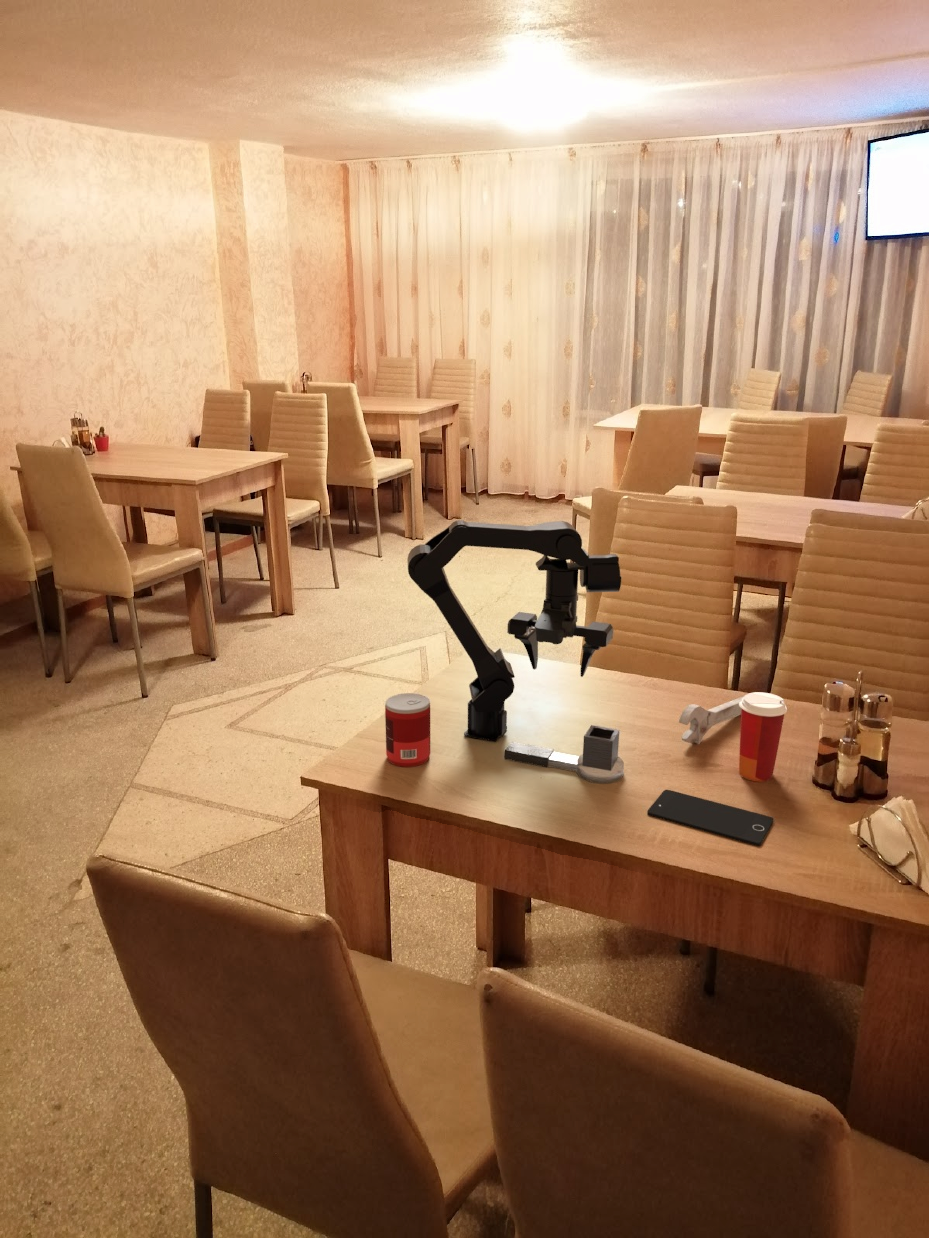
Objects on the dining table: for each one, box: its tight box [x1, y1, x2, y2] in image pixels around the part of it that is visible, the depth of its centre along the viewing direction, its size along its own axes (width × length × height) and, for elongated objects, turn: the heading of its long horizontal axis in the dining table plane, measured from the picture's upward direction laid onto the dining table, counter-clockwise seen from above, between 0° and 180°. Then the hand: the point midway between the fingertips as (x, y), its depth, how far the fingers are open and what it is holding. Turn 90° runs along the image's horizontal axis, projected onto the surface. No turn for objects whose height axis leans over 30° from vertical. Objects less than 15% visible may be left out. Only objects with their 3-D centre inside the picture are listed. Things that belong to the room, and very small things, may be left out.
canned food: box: [384, 692, 431, 768], centre depth 167 cm, size 8×8×11 cm
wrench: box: [678, 695, 745, 745], centre depth 181 cm, size 8×2×30 cm
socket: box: [582, 724, 620, 771], centre depth 162 cm, size 5×5×6 cm
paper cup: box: [738, 691, 788, 782], centre depth 162 cm, size 8×8×14 cm
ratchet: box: [503, 741, 625, 784], centre depth 166 cm, size 21×8×5 cm, turn 68°
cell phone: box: [646, 789, 774, 847], centre depth 150 cm, size 9×18×1 cm, turn 59°
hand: (558, 672), depth 176 cm, fingers open, 9 cm apart
